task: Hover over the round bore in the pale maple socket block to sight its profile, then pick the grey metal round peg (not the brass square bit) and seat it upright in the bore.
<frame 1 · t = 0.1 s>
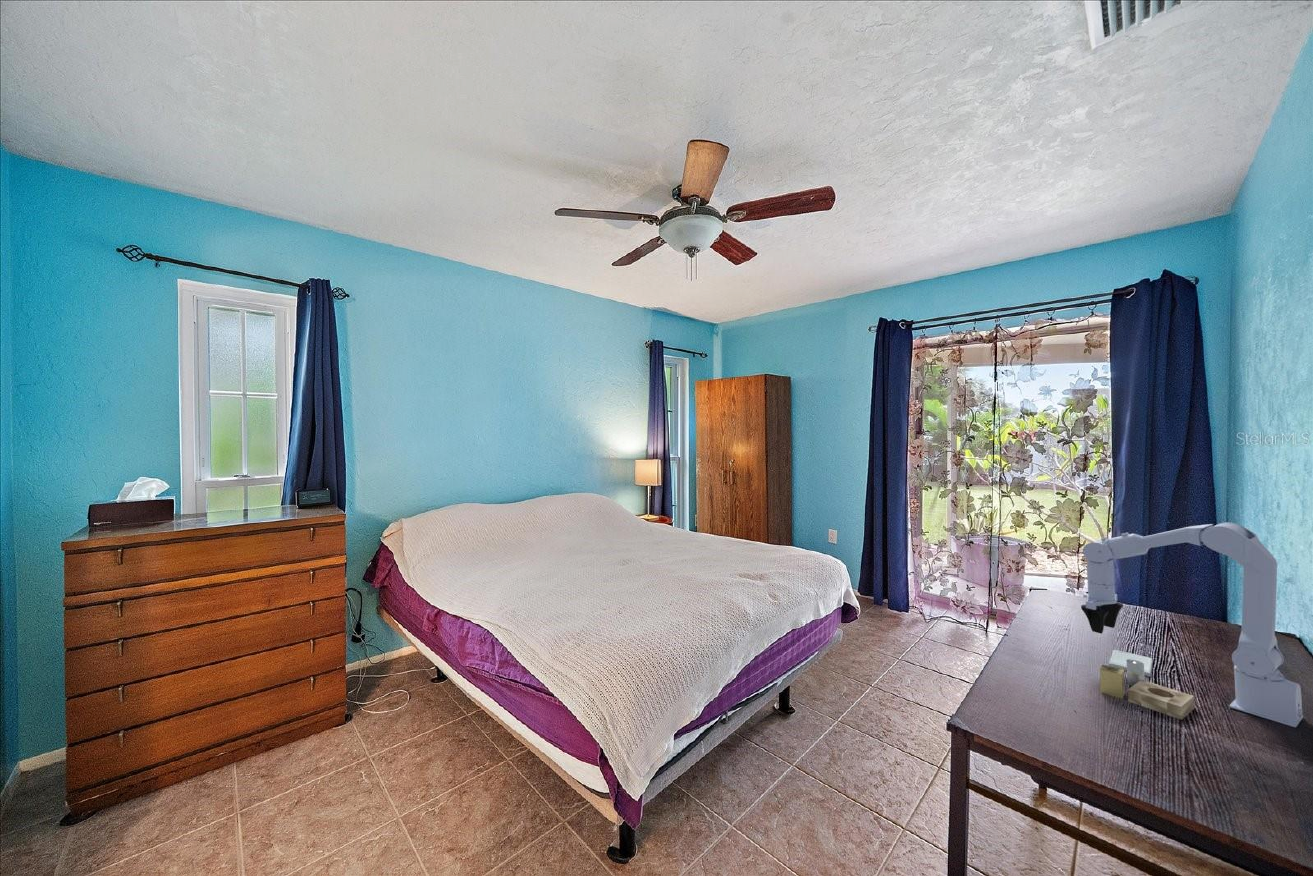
hand: (1103, 629, 134), 10 cm above the table, fingers open, 7 cm apart
socket block: (1161, 704, 113), on the table
hard drive: (1131, 666, 133), on the table
round peg: (1136, 684, 122), on the table
square bit: (1113, 693, 119), on the table
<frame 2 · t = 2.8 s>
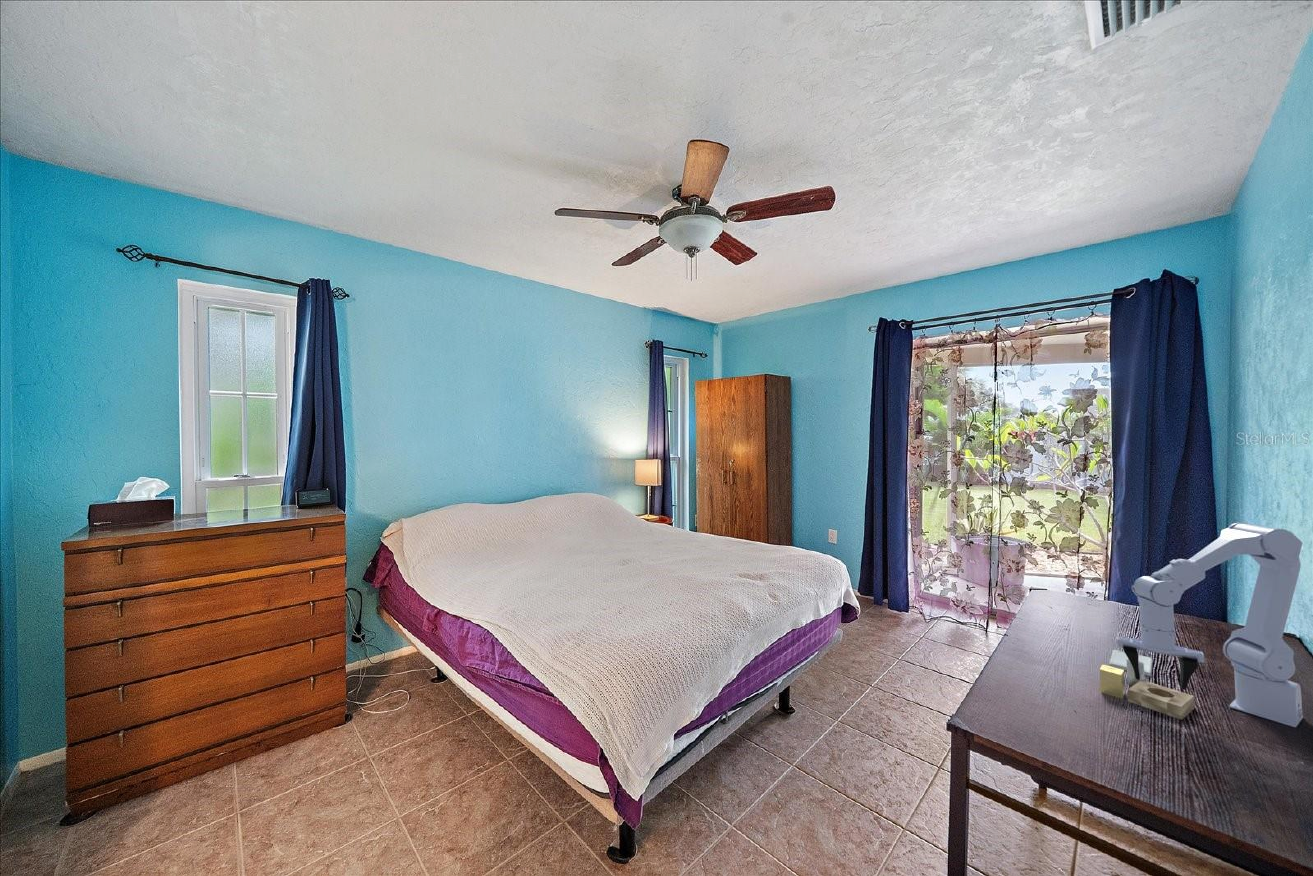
hand: (1159, 682, 113), 5 cm above the table, fingers open, 7 cm apart
nothing on the table moved.
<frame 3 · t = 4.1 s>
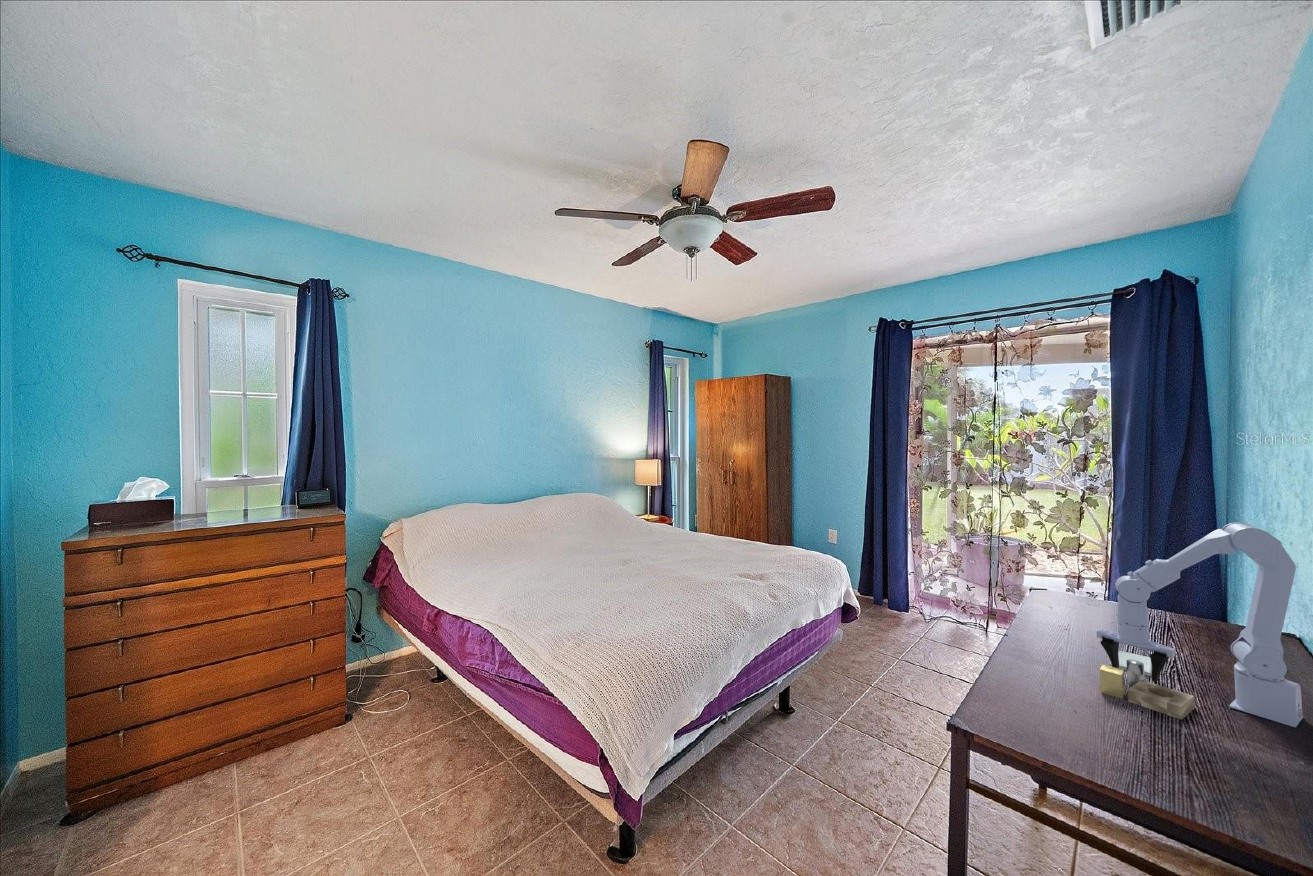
hand: (1135, 674, 122), 3 cm above the table, fingers open, 7 cm apart
nothing on the table moved.
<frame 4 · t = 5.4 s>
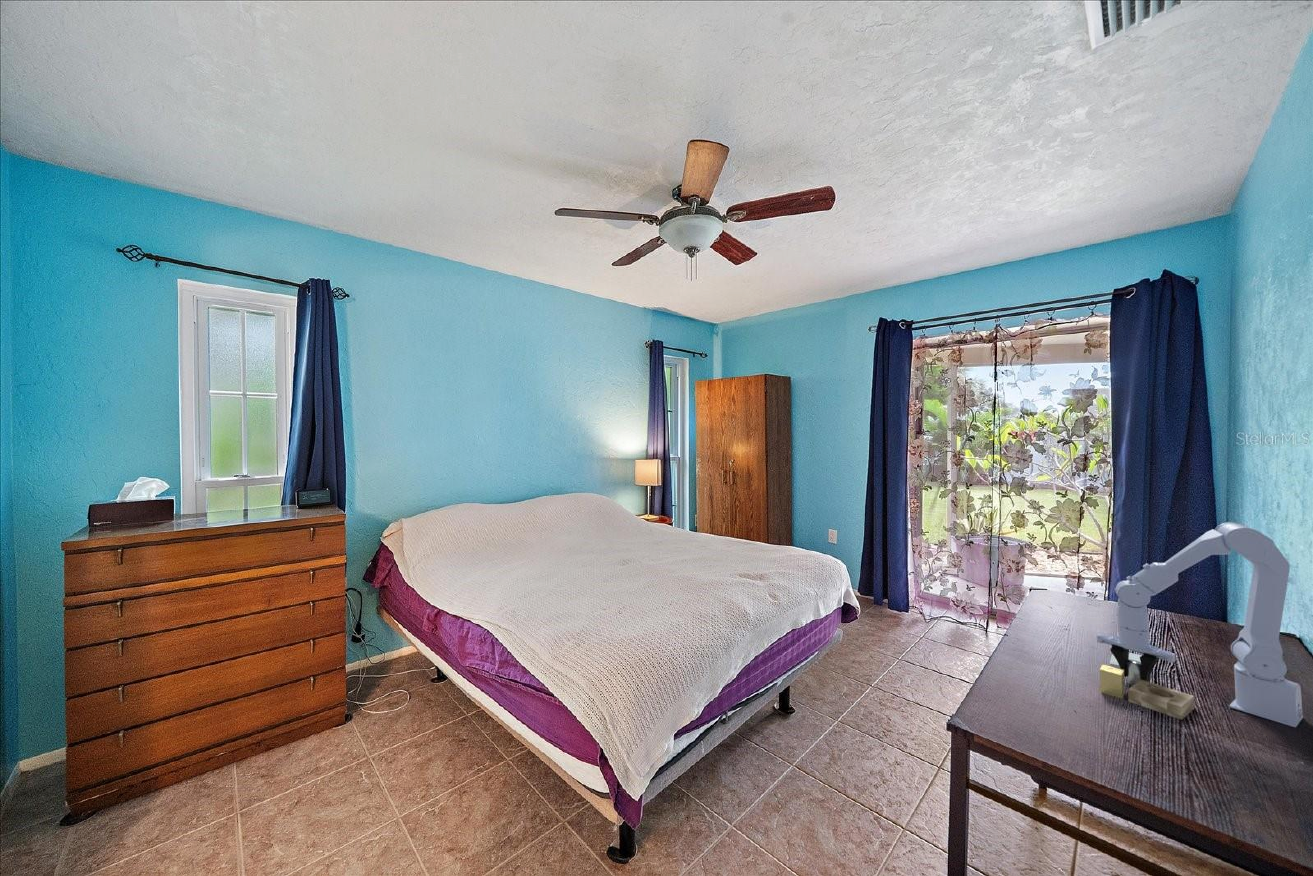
hand: (1135, 678, 122), 2 cm above the table, fingers closed on round peg, 3 cm apart
round peg: (1136, 684, 122), on the table, touching gripper
everything else where it was.
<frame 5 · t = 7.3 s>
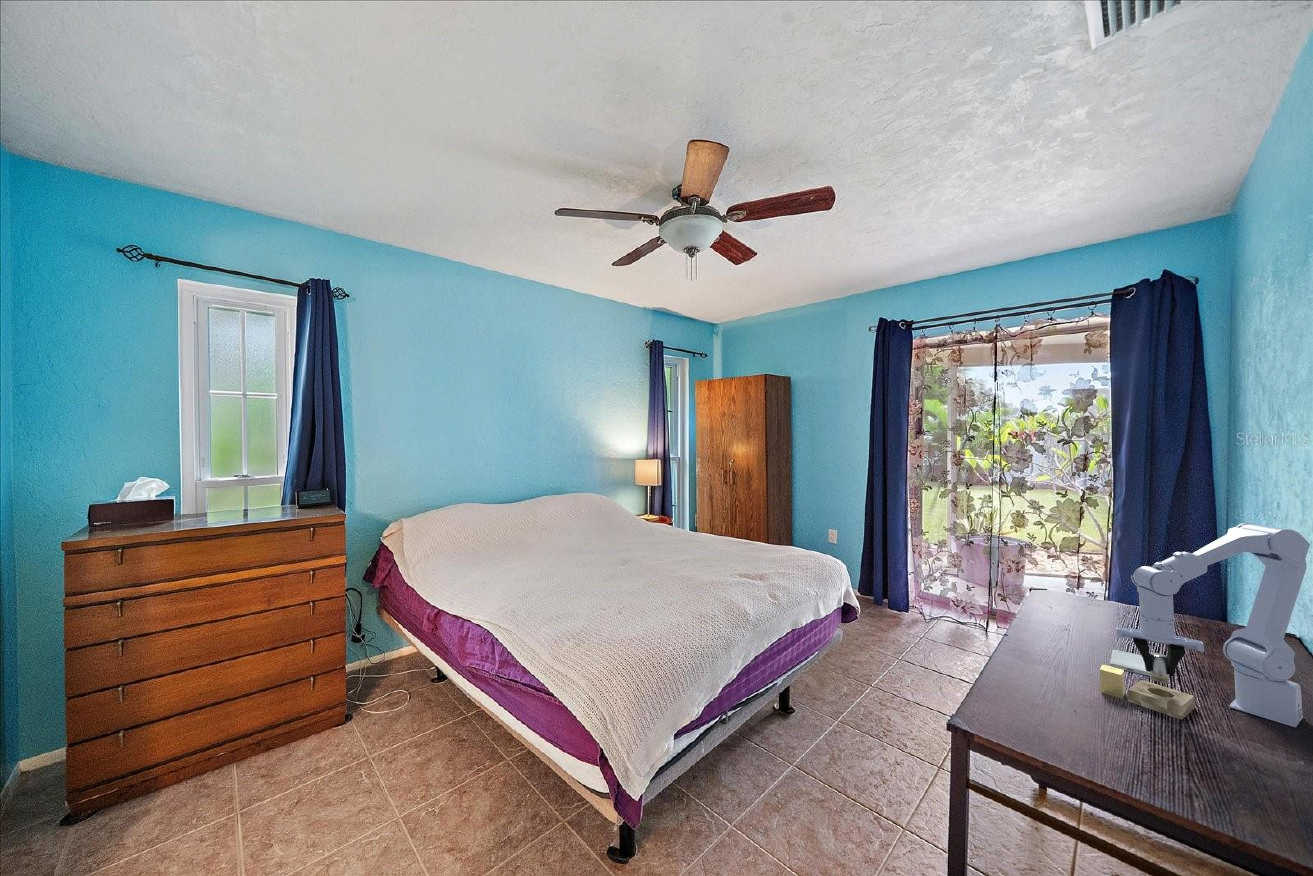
hand: (1159, 672, 113), 8 cm above the table, fingers closed on round peg, 3 cm apart
round peg: (1159, 680, 113), point 6 cm above the table, touching gripper
everything else where it was.
when the fingers open (3 cm above the table, at t = 9.3 s): round peg drops 1 cm, resting on socket block.
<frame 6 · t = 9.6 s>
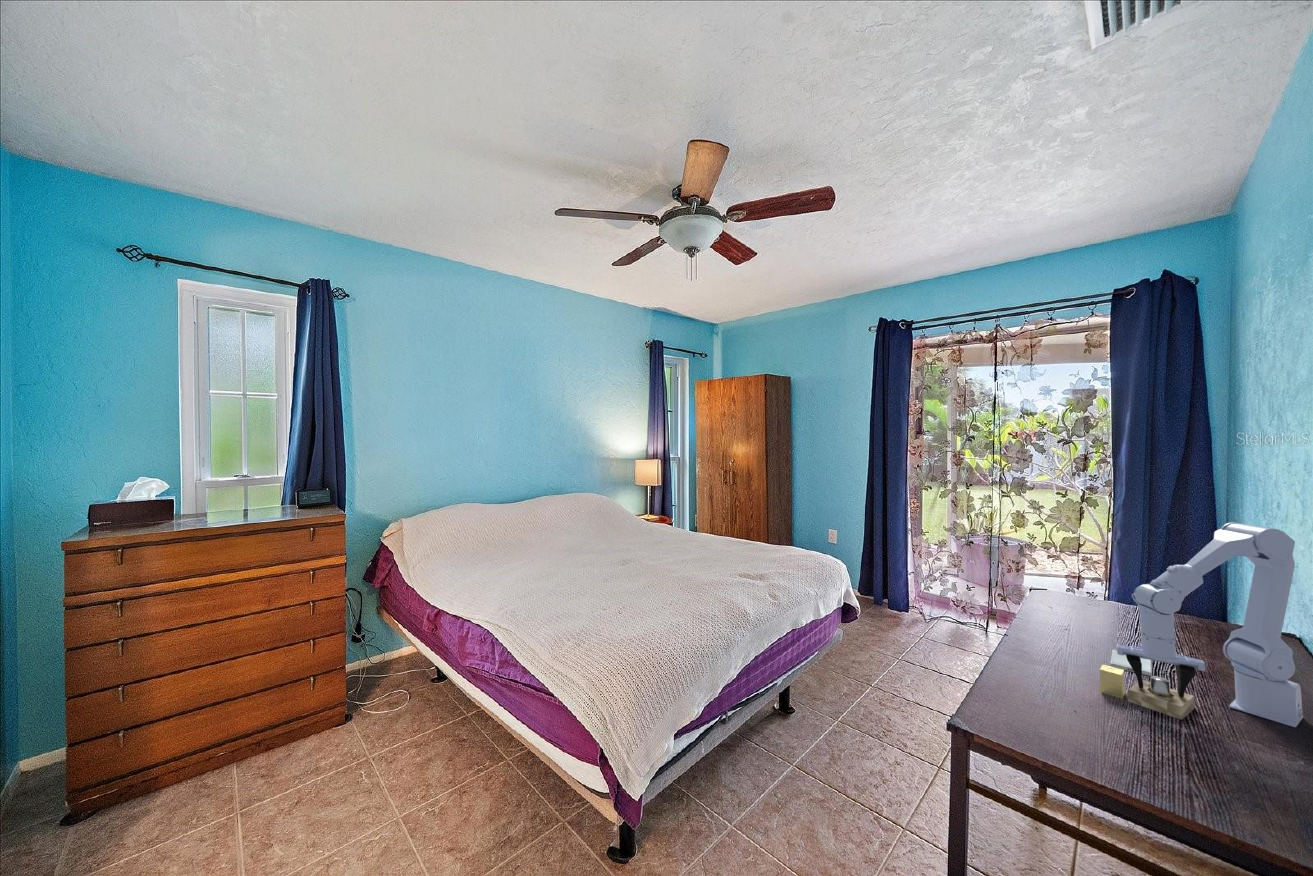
hand: (1160, 691, 113), 3 cm above the table, fingers open, 6 cm apart
round peg: (1160, 703, 113), resting on socket block
everything else where it was.
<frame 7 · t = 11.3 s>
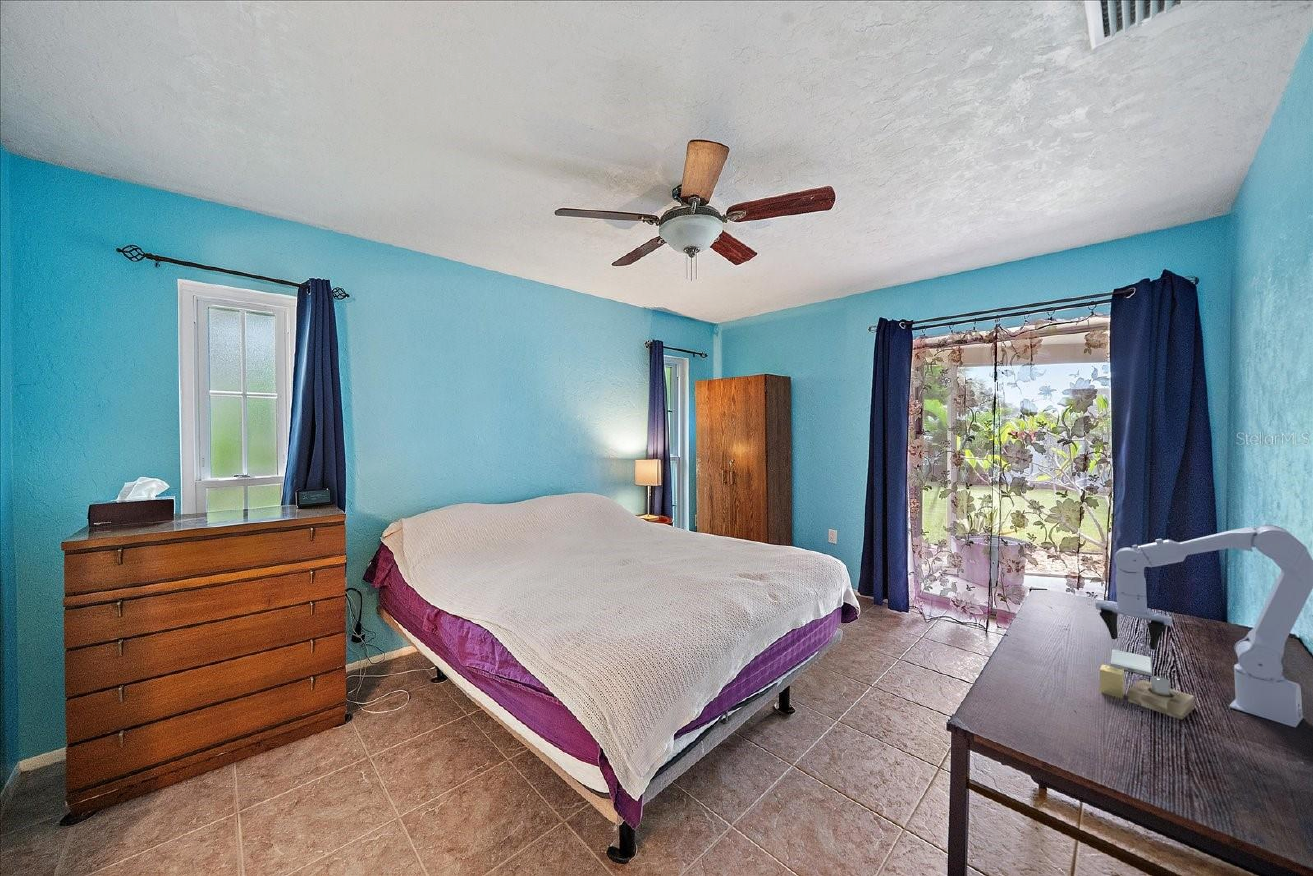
hand: (1133, 643, 125), 10 cm above the table, fingers open, 7 cm apart
nothing on the table moved.
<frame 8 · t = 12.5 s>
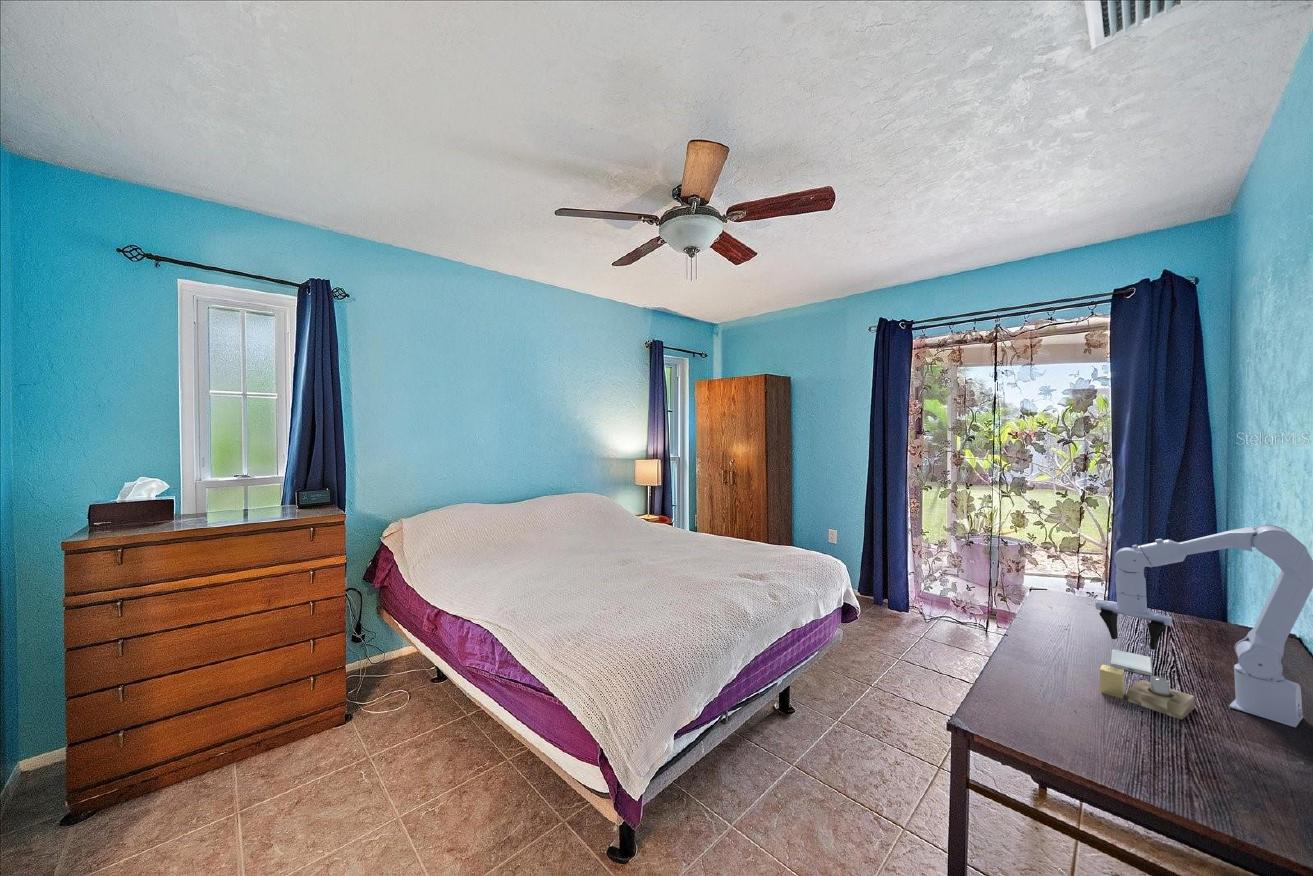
hand: (1133, 643, 125), 10 cm above the table, fingers open, 7 cm apart
nothing on the table moved.
at the end: round peg 0.1 cm off-centre on the socket block, point 0.3 cm above the socket block's base; round peg tilted 2°; square bit moved 0.1 cm from its start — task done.
